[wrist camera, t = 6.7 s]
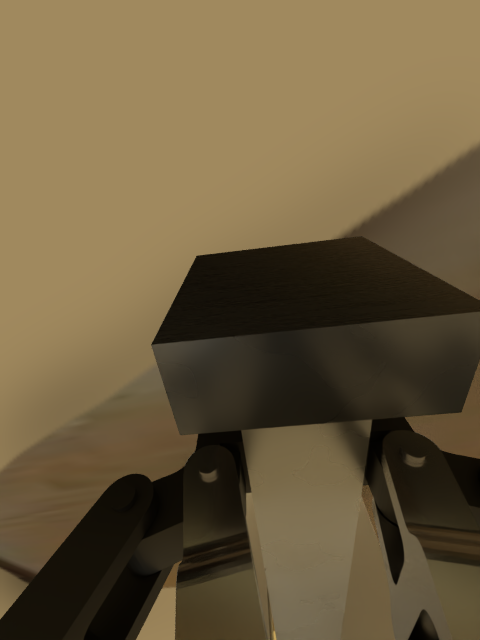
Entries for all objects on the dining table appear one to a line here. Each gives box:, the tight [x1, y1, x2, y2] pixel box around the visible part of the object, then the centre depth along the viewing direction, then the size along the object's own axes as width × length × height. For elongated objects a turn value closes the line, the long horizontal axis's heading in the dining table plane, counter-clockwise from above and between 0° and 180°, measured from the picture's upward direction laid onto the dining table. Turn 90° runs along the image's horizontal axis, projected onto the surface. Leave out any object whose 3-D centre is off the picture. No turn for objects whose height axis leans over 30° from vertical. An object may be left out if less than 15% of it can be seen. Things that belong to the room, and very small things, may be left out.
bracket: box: [246, 493, 395, 640], centre depth 20 cm, size 14×13×16 cm
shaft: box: [151, 236, 480, 640], centre depth 12 cm, size 24×5×5 cm, turn 7°
